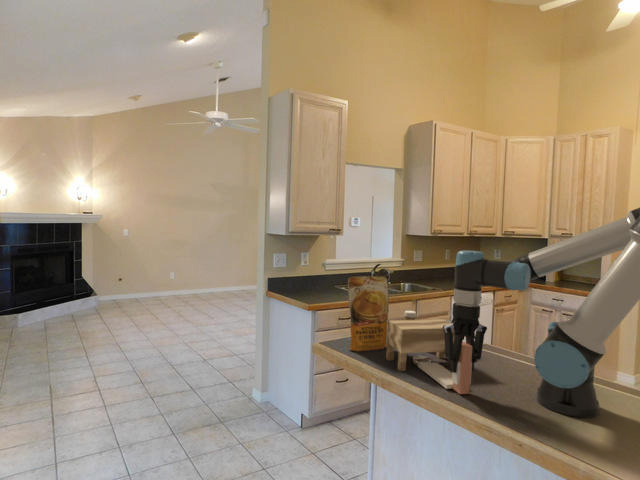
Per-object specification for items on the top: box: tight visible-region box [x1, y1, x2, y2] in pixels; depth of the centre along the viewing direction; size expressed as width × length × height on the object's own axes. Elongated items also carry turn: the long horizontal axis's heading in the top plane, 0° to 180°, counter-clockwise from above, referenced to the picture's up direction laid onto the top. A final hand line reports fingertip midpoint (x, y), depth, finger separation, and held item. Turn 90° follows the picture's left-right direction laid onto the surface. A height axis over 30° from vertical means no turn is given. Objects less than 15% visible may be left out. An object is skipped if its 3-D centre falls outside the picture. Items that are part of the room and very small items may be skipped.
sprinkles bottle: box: [404, 310, 417, 320], centre depth 165 cm, size 5×5×14 cm
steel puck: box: [412, 355, 432, 366], centre depth 144 cm, size 6×6×2 cm
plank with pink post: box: [417, 341, 472, 395], centre depth 129 cm, size 22×7×14 cm, turn 14°
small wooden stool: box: [385, 318, 455, 372], centre depth 144 cm, size 12×22×14 cm, turn 103°
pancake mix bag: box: [347, 275, 390, 352], centre depth 158 cm, size 7×19×28 cm, turn 112°
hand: (461, 382), depth 120 cm, fingers closed on plank with pink post, 3 cm apart
